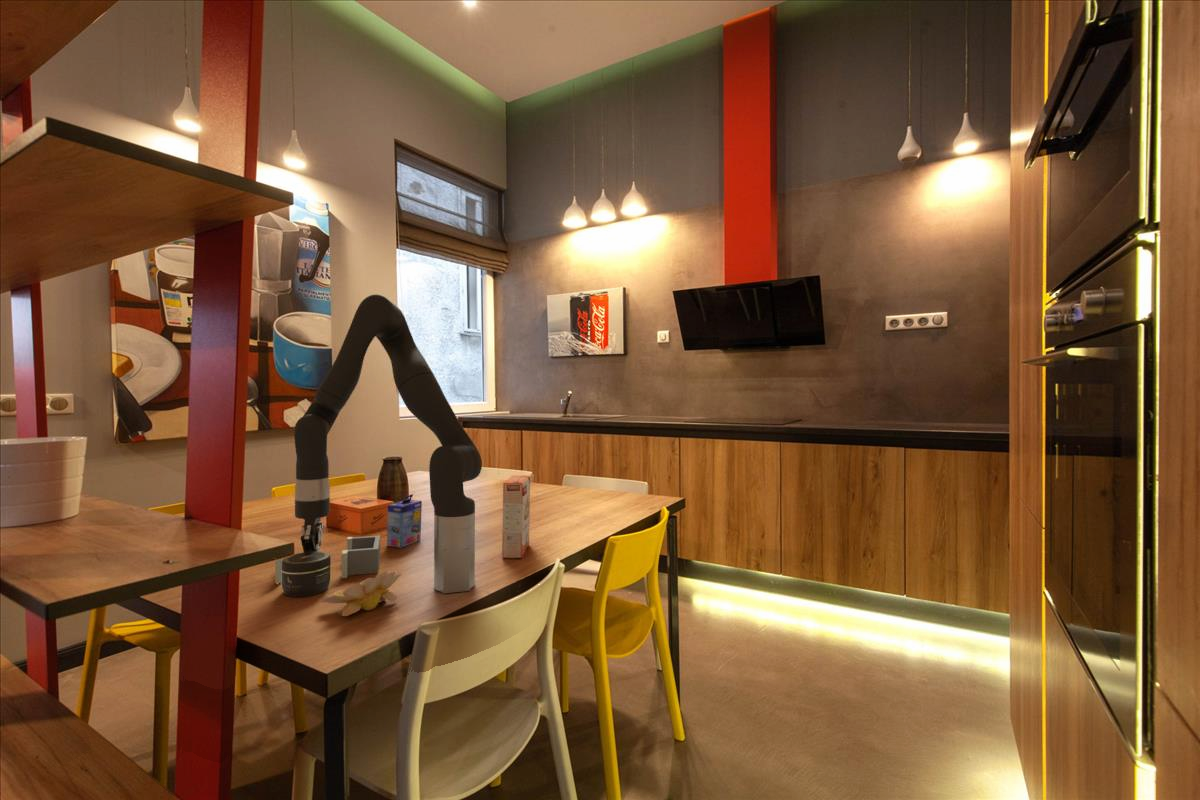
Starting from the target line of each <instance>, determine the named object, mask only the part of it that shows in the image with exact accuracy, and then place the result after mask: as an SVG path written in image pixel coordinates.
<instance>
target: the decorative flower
mask: <svg viewBox="0 0 1200 800" xmlns="http://www.w3.org/2000/svg"><path fill="white" fill-rule="evenodd" d="M401 575H402V573H398V574H396V572H395V571H394V572H389V573H388V571H383V572H381V573H380V574H378V575H377V576H375V577H367V578H366V579H364V580H362V581H360V582H359V584H356V583H355V584H353V585H350V586H348V587H347V588H346V589H338V590H336V591H334V592H333V594H331V595H330V596H329V597H328V596H327V597H325V598H322V599H321V601H320V602H322V603H328V604H344V603H345V605H344V606H343V607H342V608H341V610H340V611H339V613H338V615H339V616H342V617H348V616H350V615H352V614H355V613H357V612H358V611H360V610H363V611H371V610H373V609H375V608H376V607H377V606H378V604H379V602H384V601H386V600H387V601H389V602H390V601H391V602H394V601H396V600H397V599H398V595H397V594H396V593H393V592H392V591H390V589H389V588H390V587H392V586H393V584H394V583H396V582H397V580H398V579H399V578H400V576H401Z"/></svg>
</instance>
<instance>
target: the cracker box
mask: <svg viewBox="0 0 1200 800" xmlns="http://www.w3.org/2000/svg"><path fill="white" fill-rule="evenodd" d="M530 505H531V475H521V474H519V475H518V474H517V475H516V474H515V475H513V474H512V475H510V477H508V479H506V480H505V481H504V482H503V485H502V533H501V535H502V541H501V543H502V544H501V545H502V546H501V548H502V549H501V558H502V559H515V558H522V559H523V558H524V556H525V553H526V551H527V550H528V548H529V546H530V524H531V523H530V519H531V518H530V515H531V512H530V510H531V506H530ZM528 545H529V546H528ZM527 547H528V548H527ZM526 549H527V550H526Z"/></svg>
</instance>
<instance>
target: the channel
mask: <svg viewBox="0 0 1200 800" xmlns="http://www.w3.org/2000/svg"><path fill="white" fill-rule="evenodd" d="M282 560H283V559H280V560H277V561H275V560H274V583H276V584H277V583H281V582H282V571H281V568H282ZM380 563H381V535H369V536H368V535H367V536H356V537H353V536H347V538H346V549H345V550H344V549H343V550H342V551H341V579H347V578H348V577H349V576H356V574H358V575H367V573H369V574H377V573H376V572H378V573H379V571H378V570H380ZM281 584H282V583H281ZM277 585H278V584H277Z"/></svg>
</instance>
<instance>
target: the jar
mask: <svg viewBox="0 0 1200 800" xmlns="http://www.w3.org/2000/svg"><path fill="white" fill-rule="evenodd" d="M331 565H332V562H331V555H330V554H329V553H328V552H325V551H320V550H319V551H313V552H304V551H303V552H300V553H299V552H298V553H294V554H293V556H290V557H286V558H284V559H283V560H282V568H281V571H282V583H281V587H282V590H283V593H284V595H286V596H287V595H288V596H287V597H290V596H291V598H292V597H293V598H305V597H312V596H315V595H318V594H320V593H323V592H325V591H326V590H327V589H328V588H329V586H330V583H331Z"/></svg>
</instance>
